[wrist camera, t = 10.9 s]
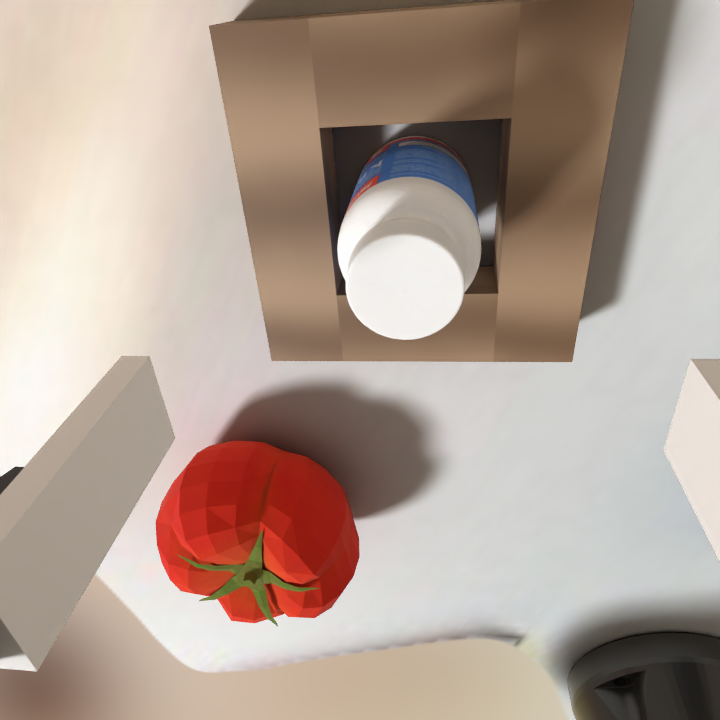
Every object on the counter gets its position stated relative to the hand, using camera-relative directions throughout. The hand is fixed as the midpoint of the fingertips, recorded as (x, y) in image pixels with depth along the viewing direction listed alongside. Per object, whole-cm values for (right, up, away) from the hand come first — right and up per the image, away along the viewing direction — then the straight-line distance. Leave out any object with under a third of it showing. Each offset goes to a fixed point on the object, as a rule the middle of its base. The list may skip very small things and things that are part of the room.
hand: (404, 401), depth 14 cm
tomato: (-7, -7, +25) cm, 27 cm away
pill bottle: (+1, +9, +13) cm, 16 cm away
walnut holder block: (+2, +9, +12) cm, 15 cm away
